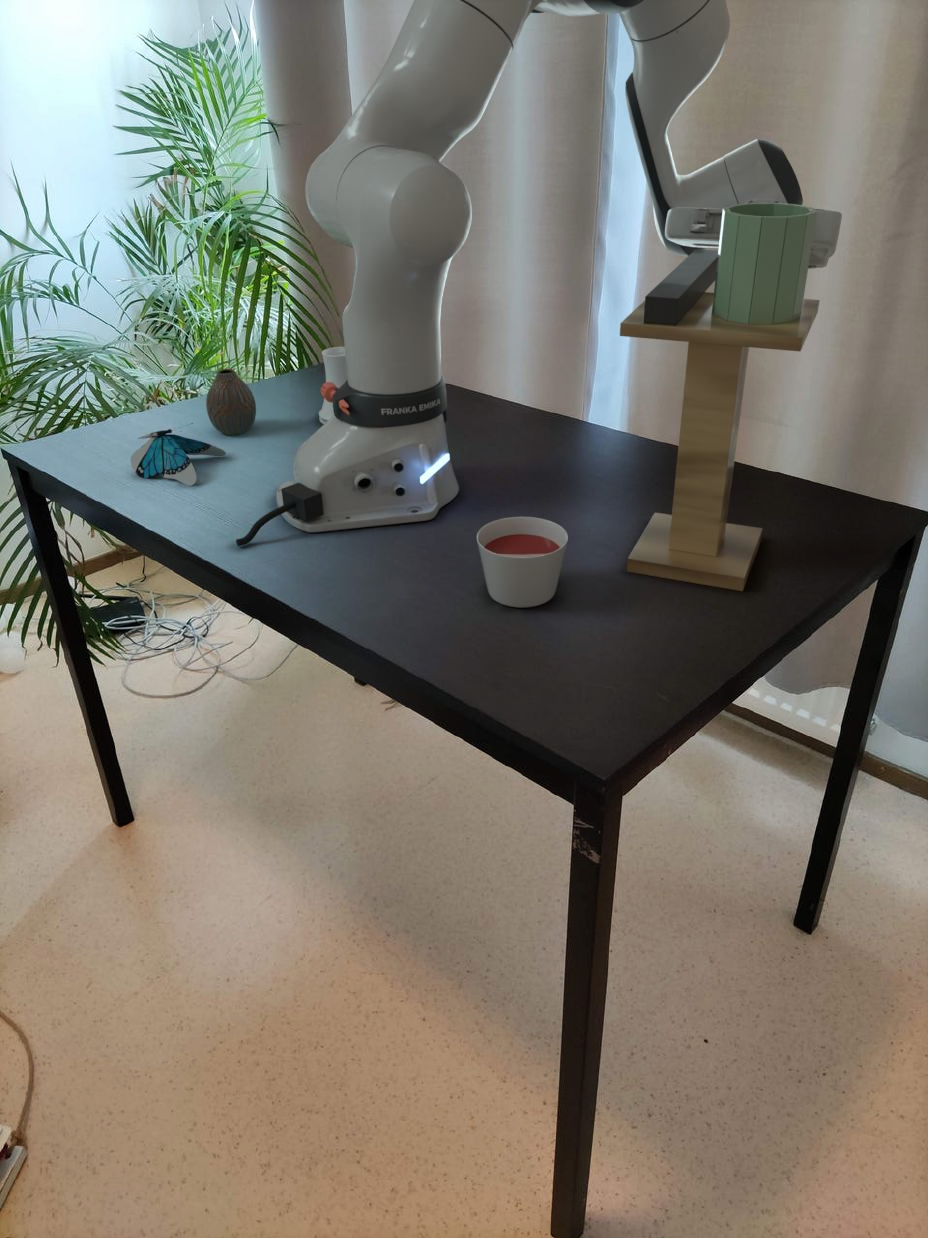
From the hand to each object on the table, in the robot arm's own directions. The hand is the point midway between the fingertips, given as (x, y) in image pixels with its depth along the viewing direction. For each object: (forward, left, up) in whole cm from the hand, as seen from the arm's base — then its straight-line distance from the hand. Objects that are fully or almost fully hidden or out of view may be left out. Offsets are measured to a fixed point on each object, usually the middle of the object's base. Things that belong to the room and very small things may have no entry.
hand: (741, 216), depth 110 cm
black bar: (-16, -14, -4) cm, 21 cm away
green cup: (-14, -22, -4) cm, 26 cm away
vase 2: (-38, +39, -30) cm, 62 cm away
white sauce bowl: (-36, -19, -30) cm, 51 cm away
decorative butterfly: (-64, +30, -30) cm, 77 cm away
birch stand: (-16, -20, -30) cm, 40 cm away
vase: (-54, +41, -30) cm, 74 cm away
